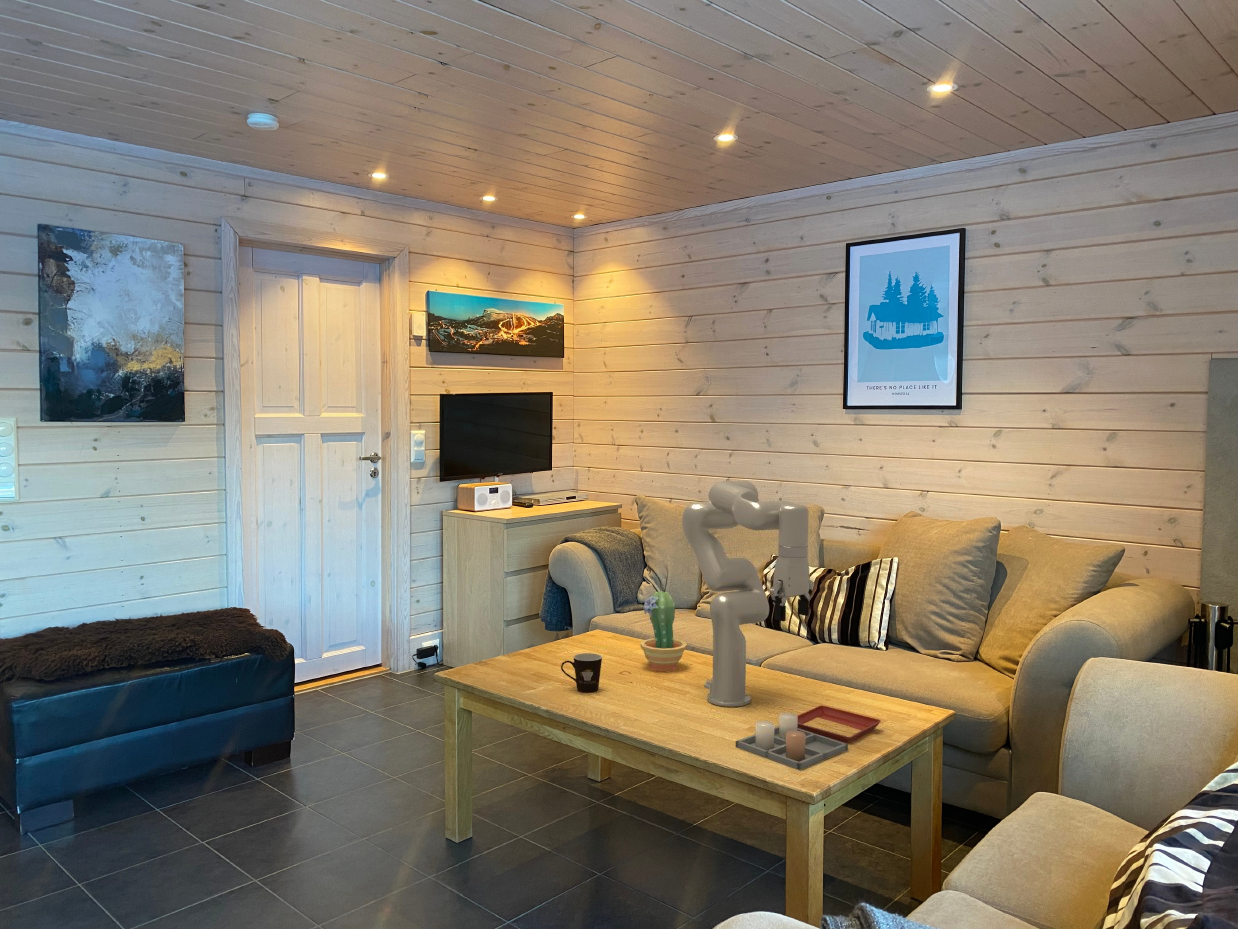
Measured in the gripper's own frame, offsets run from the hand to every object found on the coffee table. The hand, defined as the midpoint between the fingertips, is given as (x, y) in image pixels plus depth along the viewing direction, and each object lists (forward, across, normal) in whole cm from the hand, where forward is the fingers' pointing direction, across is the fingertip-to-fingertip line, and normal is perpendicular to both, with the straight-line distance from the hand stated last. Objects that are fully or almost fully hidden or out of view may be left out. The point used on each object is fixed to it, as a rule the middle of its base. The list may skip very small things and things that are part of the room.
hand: (791, 617), depth 238 cm
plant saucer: (+31, -10, +7) cm, 33 cm away
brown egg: (+30, +16, +14) cm, 36 cm away
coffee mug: (+31, +17, -64) cm, 73 cm away
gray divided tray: (+30, +11, +9) cm, 33 cm away
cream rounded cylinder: (+30, +6, +4) cm, 30 cm away
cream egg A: (+30, +16, +4) cm, 34 cm away
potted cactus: (+31, -18, -65) cm, 74 cm away
